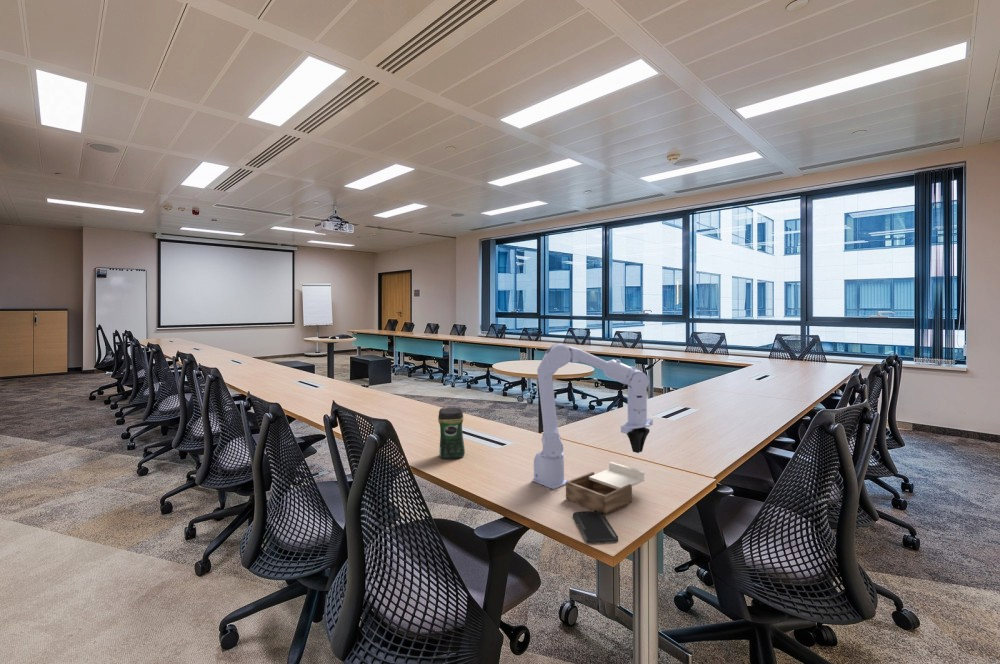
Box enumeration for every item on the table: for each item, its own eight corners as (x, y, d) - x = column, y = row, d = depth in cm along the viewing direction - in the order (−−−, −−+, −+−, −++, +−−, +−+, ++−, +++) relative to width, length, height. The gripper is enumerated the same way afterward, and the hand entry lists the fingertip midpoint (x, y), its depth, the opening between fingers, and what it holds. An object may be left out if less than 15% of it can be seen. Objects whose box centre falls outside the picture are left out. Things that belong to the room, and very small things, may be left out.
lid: (588, 479, 133) (588, 470, 133) (611, 470, 140) (611, 461, 140) (622, 491, 124) (622, 481, 124) (644, 480, 131) (644, 471, 131)
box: (566, 498, 129) (565, 481, 128) (592, 487, 136) (592, 471, 136) (605, 515, 118) (605, 496, 118) (631, 502, 125) (631, 484, 125)
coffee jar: (464, 452, 173) (463, 405, 172) (464, 459, 165) (463, 409, 165) (439, 453, 173) (438, 406, 172) (438, 460, 165) (437, 410, 164)
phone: (600, 510, 119) (619, 538, 104) (600, 514, 119) (619, 543, 104) (571, 512, 119) (586, 540, 104) (571, 516, 119) (586, 545, 104)
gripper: (634, 414, 131) (635, 460, 131) (661, 407, 140) (661, 449, 140) (614, 410, 136) (615, 454, 137) (641, 403, 145) (641, 444, 146)
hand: (637, 451), depth 139 cm, fingers closed
